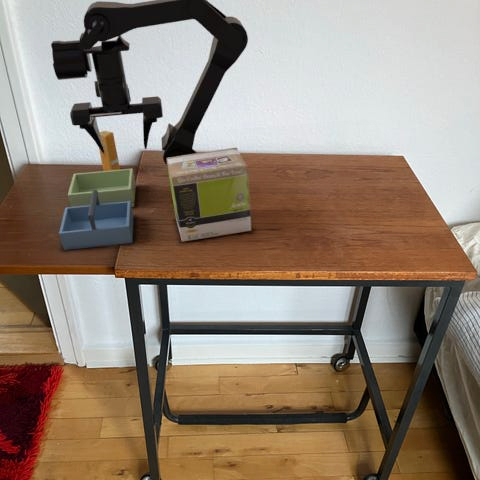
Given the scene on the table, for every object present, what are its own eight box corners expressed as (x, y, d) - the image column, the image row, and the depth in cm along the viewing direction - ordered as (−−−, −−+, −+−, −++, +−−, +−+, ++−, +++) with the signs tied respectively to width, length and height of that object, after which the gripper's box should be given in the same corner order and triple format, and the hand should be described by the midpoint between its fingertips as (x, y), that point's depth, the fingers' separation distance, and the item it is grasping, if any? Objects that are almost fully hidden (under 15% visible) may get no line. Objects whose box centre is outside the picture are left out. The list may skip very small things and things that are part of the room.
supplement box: (121, 170, 138) (114, 131, 132) (112, 175, 136) (104, 136, 130) (112, 167, 140) (104, 129, 133) (103, 172, 138) (94, 134, 131)
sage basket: (135, 185, 131) (132, 168, 128) (134, 206, 123) (130, 188, 120) (78, 191, 130) (73, 173, 127) (72, 212, 122) (67, 194, 119)
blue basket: (133, 216, 119) (127, 186, 114) (132, 243, 111) (125, 211, 106) (70, 223, 118) (61, 192, 113) (63, 250, 110) (54, 218, 105)
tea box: (241, 210, 119) (238, 145, 110) (251, 232, 112) (249, 165, 102) (174, 219, 117) (165, 155, 108) (180, 243, 110) (171, 176, 100)
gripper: (156, 60, 114) (166, 132, 125) (68, 68, 113) (85, 140, 123) (157, 75, 106) (167, 151, 116) (61, 83, 105) (80, 160, 115)
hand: (124, 150), depth 118 cm, fingers open, 9 cm apart
